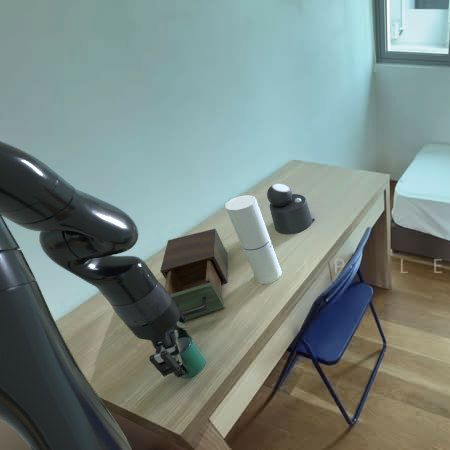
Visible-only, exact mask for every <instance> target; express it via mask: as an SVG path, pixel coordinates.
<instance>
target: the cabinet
mask: <svg viewBox="0 0 450 450" xmlns="http://www.w3.org/2000/svg"><path fill="white" fill-rule="evenodd" d="M210 259H212V260H213V262H214V264H215V266H216V268H217V270H218V272H219V274H220V276H221V285H224V284H227V283H228V252H227V250H226V248H225V246H224V244H223V242H222V239H221V237H220V235H219V233H218V231H217V228H212V229H208V230H204V231H200V232H196V233H192V234H187V235H184V236H180V237H179V236H178V237H176V238H171V239H167V243H166V247H165V251H164V255H163V258H162V262H161V266H160V273H161V275H162V276H163V278H164V279H165V280H166V279H167V274H168V271H171V270H174V269H178V268H182V267H185V266H189V265H192V264H196V263H199V262H203V261H207V260H210Z"/></svg>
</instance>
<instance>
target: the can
mask: <svg viewBox="0 0 450 450" xmlns="http://www.w3.org/2000/svg"><path fill="white" fill-rule="evenodd" d="M178 341H179V344H180V347H181V352H180V356H181V359H182V361H183V362H184V363H185V364H186V366H187V367H188V368H189V374H187V375H185V376H182V377H181V378H182V379H190V378H193V377H194V376H196V375H198V374H199V373H200V372H201V371H203V369H204V368H205V365H206V358H205V357H204V355H203V354H202V352H201V351H200V350H199V348H198V346H197V345H196V344H195V342H194V341H193V339H192V340H191V339H190V338H188V337H183V338H179V339H178ZM166 350H167V351H168V352H170V351H173V350H175V347H172V348H169V349H166ZM172 357H173V359H174V360H176V359H175V356H172Z"/></svg>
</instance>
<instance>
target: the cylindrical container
mask: <svg viewBox="0 0 450 450" xmlns="http://www.w3.org/2000/svg"><path fill="white" fill-rule="evenodd" d="M224 208H225V209H226V212H227V215H228V216H229V220H230V222H231V224H232V227H233V229H234V231H235V234H236V235H237V238H238V240H239V243H240V246H241V247H242V250H243V252H244V254H245V257H246V259H247V261H248V264H249V266H250V269H251V270H252V272H253V275H254V278H255V280H256V282H257V283H258V284H261V285H268V284H272V283H274V282H276V281H277V280H278V279H280V278H281V276H282V273H283V272H282V268H281V265H280V263H279V260H278V257H277V254H276V252H275V249H274V246H273V243H272V240H271V237H270V235H269V231H268V228H267V226H266V223H265V220H264V217H263V214H262V212H261V209H260V206H259V204H258V200H257V198H256V196H254V195H251V194H250V195H249V194H246V195H245V194H244V195H238V196H236V197H233V198H231V199H230V200H228V201H227V202H225V204H224Z"/></svg>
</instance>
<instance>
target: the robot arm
mask: <svg viewBox="0 0 450 450" xmlns="http://www.w3.org/2000/svg"><path fill="white" fill-rule="evenodd" d="M5 219H7V220H8V221H10V222H12V223H14V224H16V225H17V226H20V227H22V228H24V229H26V230H28V231H29V230H30V231H34V232H39V234H38V235H39V236H38V238H39V240H38V241H39V245H40V247H41V250H42V251H43V253H44V254H45V255H46V256H47V258H49V259H50V260H51V261H52V262H53V263H54V264H56V265H57V266H59V267H60V268H62V269H64V270H66V271H67V272H69V273H70V274H72V275H74V276H76V277H78V278H79V279H81V280H82V281H84V282H86V283H87V284H90V285H91V286H93V287H95V288H96V289H97V290H98V291H99V292H100V294H101V295H102V296H103V298H105V300H106V301H107V302H108V303H109V304H110V306H111V307H112V309H113V311H114V313H115V315H117V317H118V318H119V319H120V320H121V321H122V323H124V325H125V326H126V327H127V328H128V330H129V331H131V333H132V334H133V335H134V336H135V337H136V338H137V339H139V340H145V341H150V342H151V345H152V347H153V348H154V349H155V353H154V354H151V355H149V362H150V363H151V364H152V365H153V366H154V368H156V370H157V371H158V372H159V373H160V374H161V375H162V377H167V376H169V375H172V374H173V375H174V376H175V377H176V378H178V379H179V378H182V376H185V375H187V374H189V368H188V367H187V366H186V364H185V363H184V362H183V361H182V359H181V356H180V352H181V347H180V344H179V341H178V339H179V338H183V337H188V338H190V339H191V340H192V341H193V338H192V337H191V334H190V333H189V332H188V330H187V325H186V324H184V323H186V322H187V320H186V318H185V317H184V315H183V314H182V312H181V311H180V309H179V308H178V306H177V305H176V304H175V302H174V301H173V300H172V298H171V297H170V295H169V294H168V292H167V291H166V289H165V286H164V285H163V284H161V283H160V281H159V280H158V279H157V278H156V276H155V275H154V273H153V271H152V270H151V268H150V267H149V266H148V264H147V263H146V262H145V261H144V260H143V259H142V258H141V257H139V256H137V255H119V254H122V253H125V252H127V251H130V250H131V249H132V248H133V247H134V246H135V245H136V244H137V242H138V240H139V229H138V226H137V224H136V222H135V220H133V218H132V217H131V216H130V215H129V214H128V213H126V211H124V210H122V209H121V208H119V207H118V206H115V205H114V204H112V203H109V202H107V201H105V200H102V199H100V198H98V197H95V196H94V195H92V194H90V193H87V192H85V191H83V190H80V189H78V188H76V187H74V186H73V185H72V184H71V183H70V182H69V181H67V180H66V179H65V178H63V177H62V176H61V175H59V173H57V172H56V171H55V170H54V169H52V168H51V167H50V166H49V165H47V164H46V163H45V162H43V161H42V160H41V159H39V158H37V157H35V156H34V155H32V154H31V153H28V152H26V151H24V150H22V149H21V148H19V147H17V146H14V145H12V144H9V143H7V142H4V141H2V140H0V421H1V422H2V423H4V424H5V425H7V426H8V427H9V428H11V429H12V430H13V431H14V432H16V434H18V436H19V437H21V439H22V440H23V441H24V442H25V443H26V445H27V446H28V448H30V449H31V450H133V449H132V446H131V444H130V442H129V440H128V438H127V436H126V434H124V431H123V429H121V427H120V425H119V424H118V422H117V420H116V419H115V418H114V416H113V415H112V413H111V412H110V410H109V409H108V407H107V406H106V405H105V403H104V402H103V400H102V399H101V397H100V395H99V394H98V393H97V392H96V390H95V389H94V387H93V385H92V383H91V382H90V381H89V379H88V378H87V377H86V375H85V374H84V372H83V371H82V369H81V367H80V365H79V364H78V362H77V361H76V359H75V357H74V356H73V353H72V352H71V350H70V347H69V345H68V344H67V342H66V340H65V338H64V336H63V334H62V332H61V330H60V328H59V327H58V325H57V323H56V320H55V319H54V317H53V314H52V312H51V311H50V308H49V306H48V304H47V301H46V299H45V297H44V294H43V291H42V289H41V287H40V285H39V283H38V280H37V279H36V277H35V275H34V273H33V271H32V269H31V267H30V264H29V263H28V261H27V259H26V256H25V255H24V253H23V251H22V249H21V246H20V245H19V243H18V242H17V240H16V239H15V236H14V235H13V233H12V231H11V230H10V228H9V226H8V225H7V222H6V221H5ZM172 347H175V350H173V351H170V352H168V351H167V350H166V349H169V348H172ZM172 356H175V359H176V360H174V359H173V357H172Z"/></svg>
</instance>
